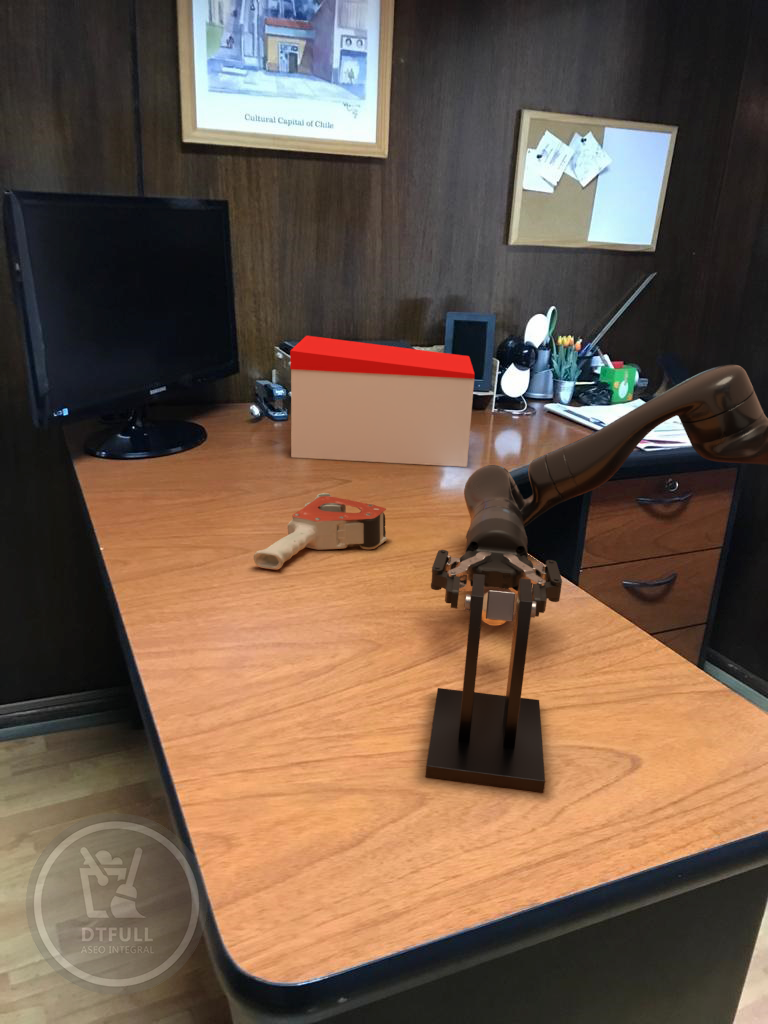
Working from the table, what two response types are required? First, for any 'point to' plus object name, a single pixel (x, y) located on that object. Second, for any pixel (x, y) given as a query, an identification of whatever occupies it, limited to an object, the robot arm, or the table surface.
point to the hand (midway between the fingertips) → (494, 604)
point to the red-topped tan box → (379, 403)
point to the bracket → (490, 714)
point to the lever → (498, 607)
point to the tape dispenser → (326, 529)
